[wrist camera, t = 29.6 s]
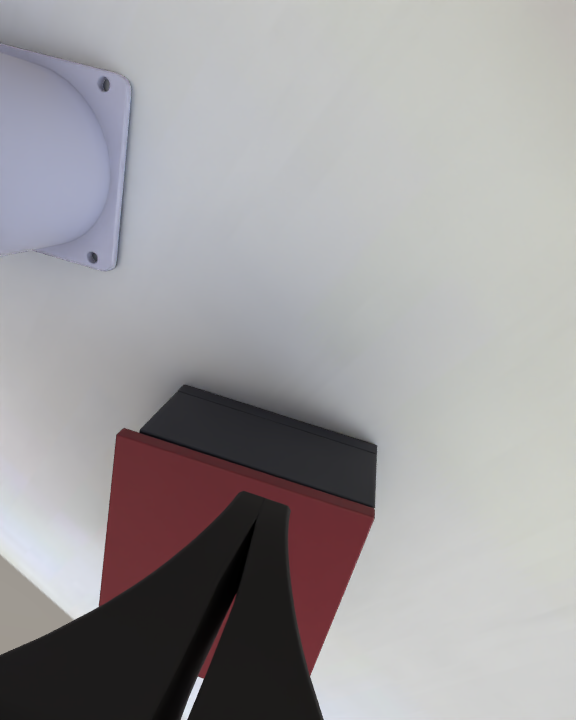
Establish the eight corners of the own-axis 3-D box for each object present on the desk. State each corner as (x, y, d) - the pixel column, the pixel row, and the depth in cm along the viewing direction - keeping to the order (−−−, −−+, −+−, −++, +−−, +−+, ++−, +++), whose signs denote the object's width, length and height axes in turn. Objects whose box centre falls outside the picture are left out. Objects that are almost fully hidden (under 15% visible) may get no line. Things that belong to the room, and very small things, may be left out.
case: (154, 562, 28) (113, 630, 24) (184, 383, 23) (139, 429, 19) (311, 618, 27) (297, 698, 23) (377, 445, 22) (375, 507, 18)
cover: (101, 629, 24) (94, 639, 23) (123, 427, 19) (115, 434, 18) (297, 699, 23) (295, 712, 22) (375, 507, 18) (375, 518, 17)
